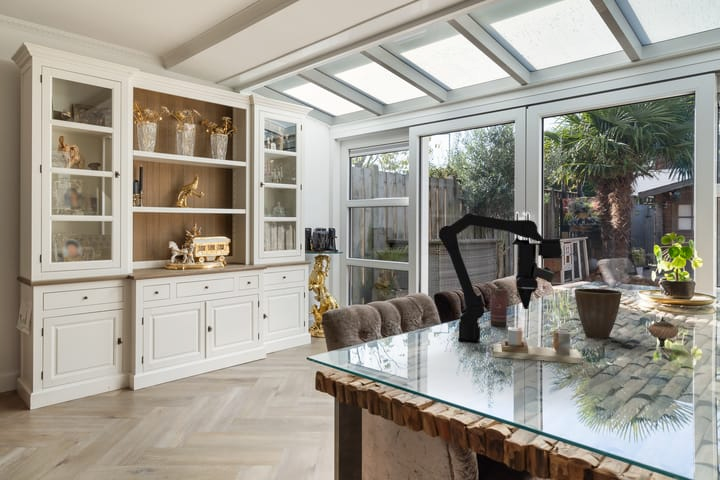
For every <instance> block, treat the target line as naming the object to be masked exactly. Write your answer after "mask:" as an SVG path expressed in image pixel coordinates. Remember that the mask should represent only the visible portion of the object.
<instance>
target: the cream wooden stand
mask: <svg viewBox="0 0 720 480" xmlns="http://www.w3.org/2000/svg"><path fill="white" fill-rule="evenodd" d="M500 341H501V343H493V348H492V349H493V357H494V358H504V359H505V358H507V359H519V360H520V359H521V360H530V361H531V360H533V361H543V360H544V361H546V362H557V363H571V364H583V363H584V361H583V360H584V358H583V356H582V355H581V354H580V352H579V351H578V350H577V349H572V348H571V347H570V346H571V345H570V344H571V343H570V342H571V333H570V332H569V331H568V330H562V329H560V330H559V329H554V330H553V347H545V346H532V345H530V346H529V345H528V342H527V341H523V340H522V347H514V346H508V339H501V340H500Z"/></svg>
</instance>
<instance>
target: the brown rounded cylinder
mask: <svg viewBox="0 0 720 480" xmlns="http://www.w3.org/2000/svg"><path fill="white" fill-rule="evenodd" d="M508 297H509V290H508V289H506V288H491V290H490V306H489V307H490V309H489V311H490V312H489V313H490V314H489V319H490V320H489V321H490V325H491V326H493V327H506V326H507V324H508V323H507V321H508Z"/></svg>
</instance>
